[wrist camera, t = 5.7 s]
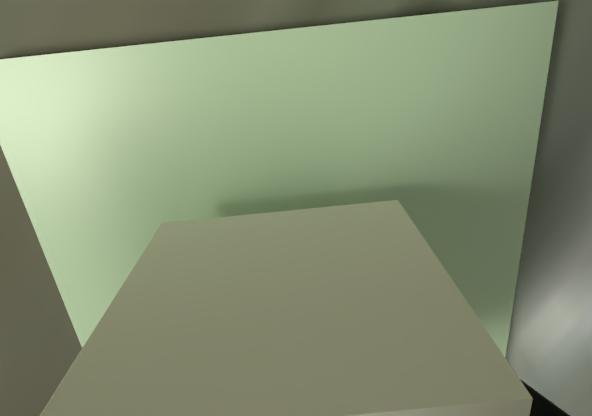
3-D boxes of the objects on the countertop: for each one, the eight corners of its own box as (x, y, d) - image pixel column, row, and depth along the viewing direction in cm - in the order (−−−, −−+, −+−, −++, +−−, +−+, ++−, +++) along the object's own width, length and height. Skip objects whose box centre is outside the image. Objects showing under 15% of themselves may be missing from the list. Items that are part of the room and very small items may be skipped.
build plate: (484, 398, 14) (496, 419, 13) (133, 431, 14) (124, 454, 13) (535, 3, 9) (559, 0, 8) (-7, 60, 9) (-33, 63, 8)
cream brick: (397, 199, 8) (532, 398, 4) (396, 376, 10) (484, 645, 6) (161, 223, 9) (19, 445, 4) (205, 394, 11) (145, 674, 6)
